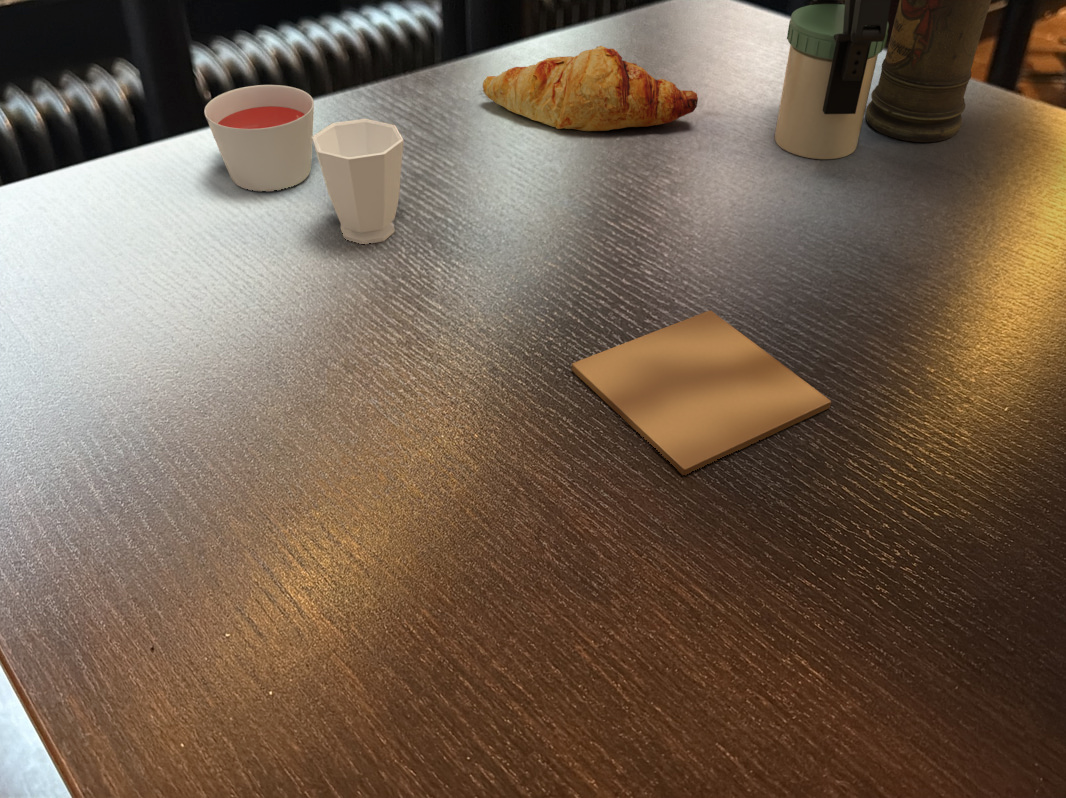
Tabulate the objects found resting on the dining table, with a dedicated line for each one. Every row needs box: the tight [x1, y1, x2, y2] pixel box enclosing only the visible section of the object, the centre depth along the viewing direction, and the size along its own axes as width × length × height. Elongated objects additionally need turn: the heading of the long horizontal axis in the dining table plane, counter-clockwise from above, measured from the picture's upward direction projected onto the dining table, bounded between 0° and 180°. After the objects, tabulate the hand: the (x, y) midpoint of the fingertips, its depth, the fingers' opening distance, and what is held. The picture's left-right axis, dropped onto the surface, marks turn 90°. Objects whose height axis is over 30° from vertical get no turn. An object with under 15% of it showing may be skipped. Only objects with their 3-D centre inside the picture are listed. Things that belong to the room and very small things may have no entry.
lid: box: [786, 3, 890, 59], centre depth 87 cm, size 8×8×2 cm
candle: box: [203, 84, 315, 192], centre depth 86 cm, size 9×9×6 cm
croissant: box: [482, 45, 699, 132], centre depth 96 cm, size 21×10×8 cm, turn 78°
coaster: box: [570, 309, 832, 476], centre depth 65 cm, size 12×12×1 cm
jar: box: [774, 44, 879, 160], centre depth 91 cm, size 8×8×11 cm
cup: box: [312, 118, 404, 245], centre depth 79 cm, size 7×10×8 cm
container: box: [865, 0, 992, 143], centre depth 92 cm, size 9×9×18 cm
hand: (825, 91), depth 91 cm, fingers closed on lid, 8 cm apart
